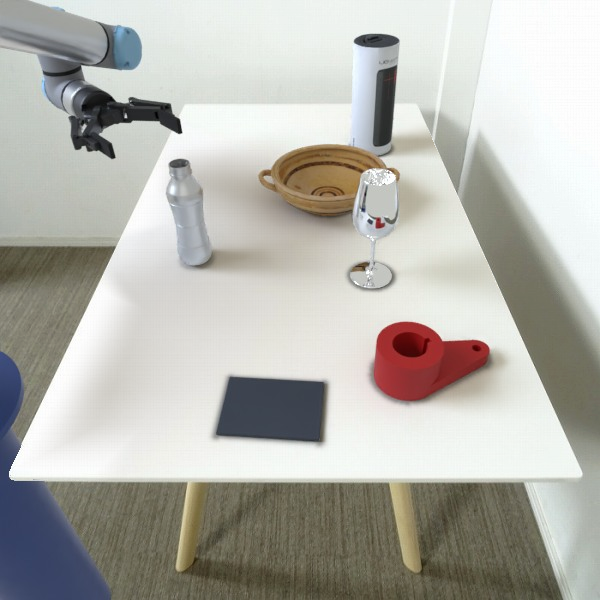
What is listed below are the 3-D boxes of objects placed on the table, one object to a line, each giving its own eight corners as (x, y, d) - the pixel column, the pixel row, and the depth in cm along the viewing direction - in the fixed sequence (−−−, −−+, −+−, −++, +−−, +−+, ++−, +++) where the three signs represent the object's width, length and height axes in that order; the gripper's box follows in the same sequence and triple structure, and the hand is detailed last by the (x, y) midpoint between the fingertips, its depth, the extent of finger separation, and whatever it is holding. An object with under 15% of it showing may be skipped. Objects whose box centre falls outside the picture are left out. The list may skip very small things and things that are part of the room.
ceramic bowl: (391, 174, 128) (394, 142, 123) (403, 233, 110) (407, 198, 104) (264, 176, 129) (262, 144, 124) (256, 234, 111) (252, 200, 105)
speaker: (360, 160, 134) (366, 47, 116) (342, 143, 141) (345, 34, 124) (398, 152, 136) (409, 40, 119) (378, 135, 144) (386, 28, 127)
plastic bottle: (203, 245, 108) (186, 150, 95) (220, 261, 104) (205, 165, 91) (173, 257, 106) (152, 161, 92) (190, 274, 101) (170, 177, 88)
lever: (388, 407, 77) (392, 376, 73) (364, 360, 84) (366, 329, 80) (502, 378, 81) (512, 346, 76) (469, 335, 88) (477, 304, 83)
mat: (216, 434, 75) (215, 432, 74) (230, 378, 82) (229, 376, 82) (319, 441, 73) (319, 439, 73) (323, 383, 81) (323, 381, 81)
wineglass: (340, 275, 100) (343, 176, 87) (369, 257, 104) (376, 160, 91) (372, 295, 96) (380, 194, 82) (401, 276, 99) (413, 176, 86)
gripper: (149, 106, 117) (207, 136, 105) (36, 143, 105) (87, 183, 93) (142, 70, 112) (202, 97, 100) (21, 105, 100) (73, 141, 88)
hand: (147, 138), depth 96 cm, fingers open, 13 cm apart
